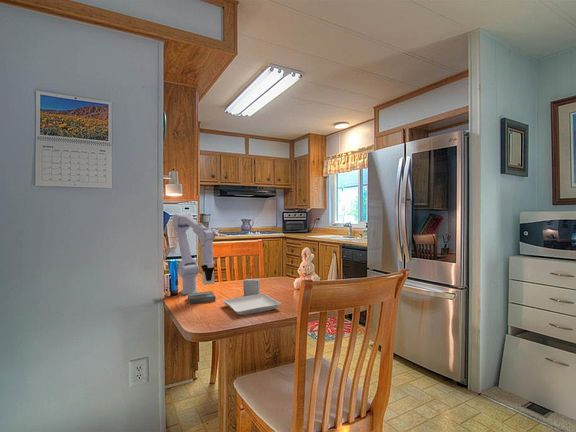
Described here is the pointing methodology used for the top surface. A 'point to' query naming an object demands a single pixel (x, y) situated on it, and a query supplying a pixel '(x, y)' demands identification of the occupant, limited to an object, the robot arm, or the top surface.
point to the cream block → (206, 280)
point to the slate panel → (201, 297)
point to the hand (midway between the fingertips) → (207, 279)
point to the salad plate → (252, 304)
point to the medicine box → (251, 287)
